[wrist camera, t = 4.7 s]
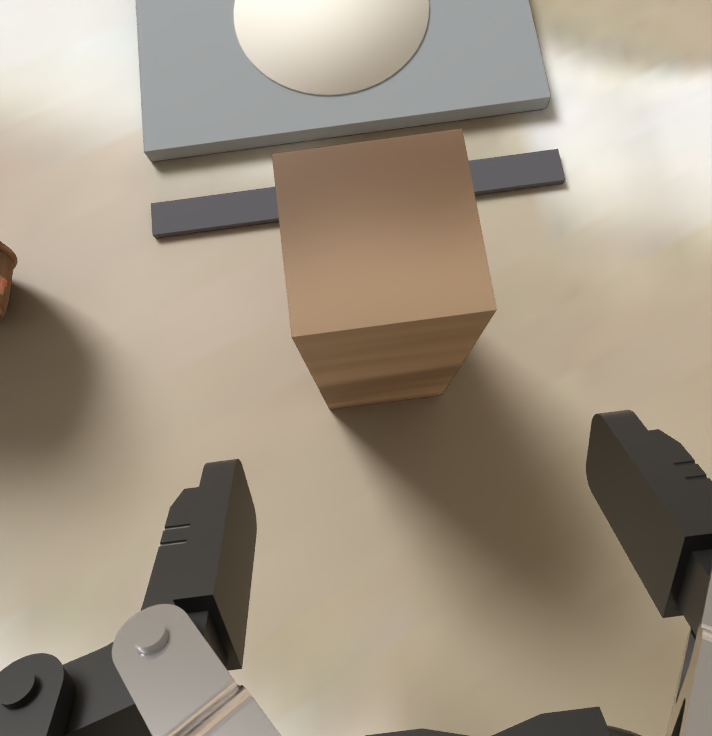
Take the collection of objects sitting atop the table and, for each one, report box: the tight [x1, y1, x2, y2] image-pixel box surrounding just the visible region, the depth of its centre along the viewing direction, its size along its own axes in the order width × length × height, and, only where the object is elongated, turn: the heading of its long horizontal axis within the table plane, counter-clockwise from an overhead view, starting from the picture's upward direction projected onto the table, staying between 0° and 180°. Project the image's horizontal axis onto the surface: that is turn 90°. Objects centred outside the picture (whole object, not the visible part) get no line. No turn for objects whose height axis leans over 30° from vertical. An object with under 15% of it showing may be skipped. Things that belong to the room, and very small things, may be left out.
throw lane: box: [136, 0, 565, 238], centre depth 27 cm, size 16×18×1 cm
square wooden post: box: [272, 128, 497, 410], centre depth 19 cm, size 5×5×11 cm
